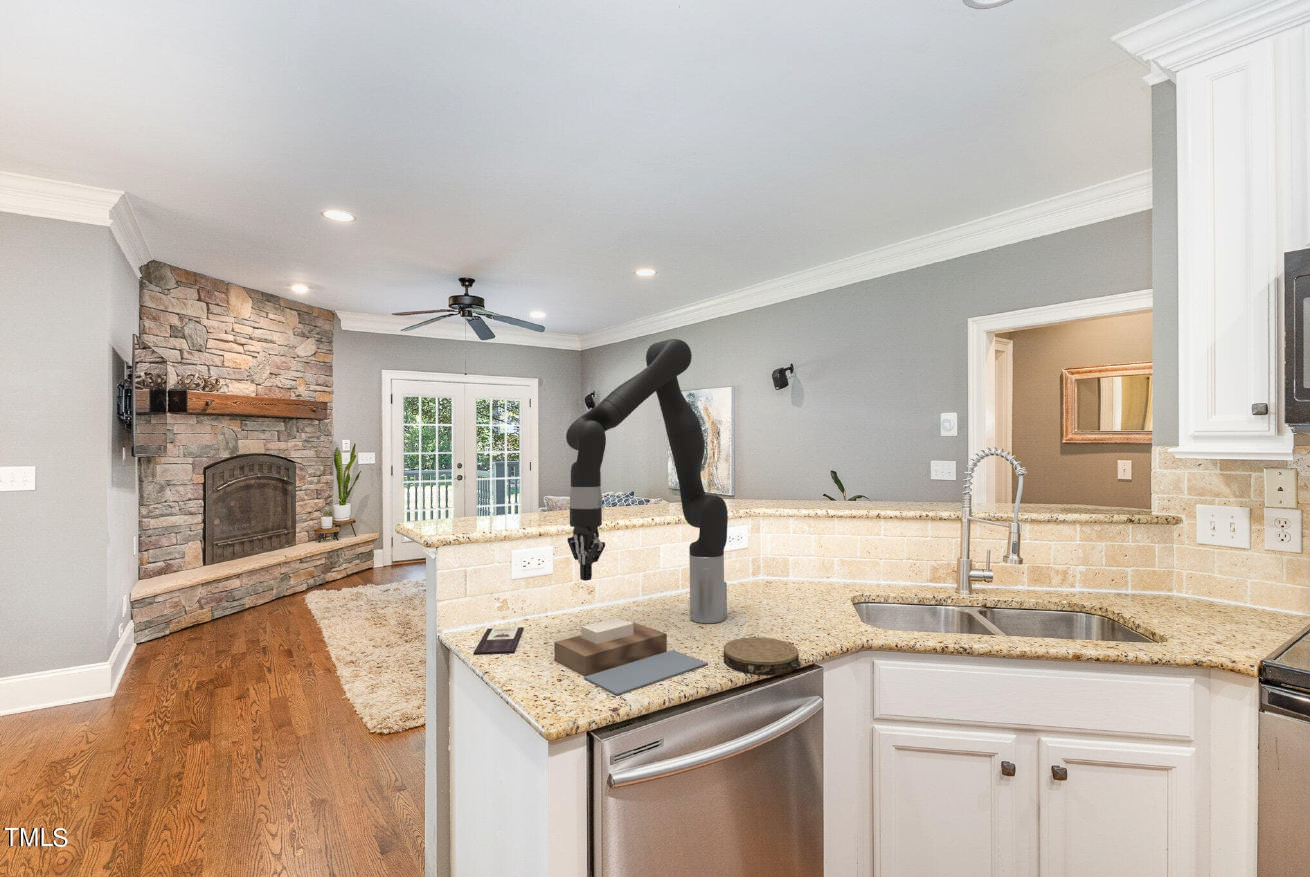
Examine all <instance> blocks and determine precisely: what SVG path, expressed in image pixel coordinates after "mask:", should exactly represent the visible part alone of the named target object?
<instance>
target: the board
mask: <svg viewBox="0 0 1310 877" xmlns="http://www.w3.org/2000/svg"><path fill="white" fill-rule="evenodd" d="M632 623H633V635H630V636H627V637H623V638H619V639H615V640H612V641H608V642H604V643H600V644H595V643H592V642H590V641H588V640H585V639H583V638H581V635H577V636H573V637H568V638H565V639H561V640H557V641H554V642H553V645H554V647H553V648H554V651H553V652H554V654H553V656H554V657H553V658H554V659H553V660H554V661H555V662H557V663H559V664H561V665H563V666H565V667H567V668H569V669H570V670H573V671H574V672H576V673H578V674H581V675H583V677H585V676H588V675H592V674H595V673H598V672H602V671H605V670H608V669H612V668H615V667H618V666H621V665H625V664H628V663H631V662H635V661H638V660H641V659H645V658H648V657H651V656H655V655H658V654H661V653H665V652H668V641H667V640H668V636H667V633H665V632H662V631H659V630H657V629H655V628H652V627H649V626H646V625H642V624H640V623H637V622H632Z"/></svg>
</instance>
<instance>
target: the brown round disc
mask: <svg viewBox="0 0 1310 877" xmlns="http://www.w3.org/2000/svg"><path fill="white" fill-rule="evenodd" d="M799 653H800V652H799V649H798V648H797V646H795V645H794V644H792V643H790V642H787V641H784V640H781V639H777V638H776V639H775V638H769V637H755V636H753V637H749V636H748V637H742V638H741V637H740V638H736V639H733V640H730V641H728V642H726V643H725V644H724V645H723V663H724V664H725V666H726V667H728V668H730V669H732V670H733V671H736V672H740V673H741V674H742V673H743V674H745V675H746V674H748V675H755V676H767V677H768V676H769V677H770V676H780V675H784V674H787V673H792V672H793V671H794V670H796V669H797V668H798V667H799V666H800V664H799V660H800V659H799V655H800V654H799Z"/></svg>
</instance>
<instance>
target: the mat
mask: <svg viewBox="0 0 1310 877" xmlns="http://www.w3.org/2000/svg"><path fill="white" fill-rule="evenodd" d="M708 665H709V662H706V661H703V660H701V659H698V658H696V657H693V656H691V655H688V654H685V653H682V652H679V651H677V650H674V649H671V650H667V652H664V653H660V654H657V655H654V656H650V657H647V658H644V659H641V660H637V661H634V662H631V663H627V664H624V665H621V666H617V667H614V668H611V669H607V670H604V671H601V672H597V673H594V674H591V675H587V676H583V679H584V680H585V681H587V682H589V683H591V684H593V685H595V686H597V687H599V688H601V689H603V690H605V691H607V692H608V693H610V694H612V693H613V694H612V695H614V696H616V697H618V696H620V695H623V694H622V693H624V694H626V692H627V693H630V692H632V690H633V691H635V689H636V690H638V688H639V689H641V687H642V688H644V687H647V686H650V685H653V684H656V683H658V681H659V682H662V681H665V680H668V679H670V677H671V678H673V677H677V676H680V675H682V674H686V673H688V672H691V671H695V670H697V669H700V668H703V667H706V666H708ZM676 675H677V676H676ZM664 679H665V680H664ZM655 682H656V683H655ZM652 683H653V684H652ZM649 684H650V685H649ZM643 686H644V687H643ZM629 691H630V692H629Z"/></svg>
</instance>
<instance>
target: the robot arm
mask: <svg viewBox="0 0 1310 877" xmlns="http://www.w3.org/2000/svg"><path fill="white" fill-rule="evenodd" d="M692 357H693V354H692V350H691V348H690V346H689V345H688V343H687V342H685V341H684V340H682V339H679V338H672V339H671V338H670V339H666V340H661V341H658V342H655V343H653V344H651V345H650V346H649V347H648V348H647V351H646V354H645V362H646V367H645V368H644V369H642V370H641V371H640V372H639V373H636V374H635V375H634V376H633V377H631V378H630V379H628V380H626V381H624V382H623V383H622V384H620V385H619V386H618V387H616V388H614V390H612V391H611V392H610V393H609V394H608V395H607V396H605V397H604V398H603V399H602V401H600V402H599V403H598V404H597V405H596V406H594V407H593V408H591V409H590V410H589V411H587V412H586V413H584V414H583V415H580V417H578V418H577V419H576V420H575V421H573V422H572V423H571V424H570V425H569V427H568V429H567V430H566V434H565V439H566V443H567V445H568V446H569V447H570V448H571V449H573V450H575V451H577V455H576V456H577V458H576V461H575V462H573V463H572V464H571V468H570V491H569V492H570V493H569V526H570V527H572V528H573V530H572V531H573V532H572V536H570V537H567V539H566V541H567V544H568V546H569V548H570V551H571V554H572V557H573V559H574V560H575V561H578V562H577V563H578V564H579V576H580V578H579V579H580V580H582V581H590V580H592V578H593V577H592V576H593V574H592V573H593V568H592V567H593V566H592V565H593V564H594V563H597V562H598V561H599V559H600V557H601V556H602V553H603V551H604V549H605V547H606V542H605V541H601V540H600V539H599V538H600V534H599V529H598V528H599V527H600V526H602V524H603V501H602V500H603V498H602V497H603V496H602V488H601V487H602V486H601V485H602V483H601V482H602V481H601V478H602V477H601V476H602V474H601V468H602V465H603V464H602V463H603V461H604V460H603V459H604V456H605V450H606V444H607V443H606V442H607V436H606V431H609V430H612V429H615V428H616V427H618V426H619V425H620V424H622V423H623V421H624V420H625V419H627V418H628V417H629V416H630V415H631V414H632V413H633V412H634V411H635V410H636V409H637V408H639V406H641V404H642V403H644V402H645V401H647V399H648V398H650V397H651V396H652V395H653V394H654V393H656V395H657V399H658V403H659V407H660V411H661V415H662V418H663V421H664V422H663V423H664V428H665V431H666V436H667V440H668V445H669V447H670V451H671V455H672V459H673V463H674V467H675V473H676V477H677V482H678V487H679V493H680V494H679V495H680V502H681V510H682V513H683V517H684V519H685V521H686V522H687V524H688V525H690V526H691V527H693V528H697V529H699V531H698V532H699V535H698V539H697V540H695V541H693V542H691V543H690V544H689V548H688V549H689V551H688V552H689V554H688V555H689V556H688V557H689V558H688V560H689V619H690V621H692V622H696V623H699V624H717V623H720V622H723V621H725V619H727V618H728V593H727V592H728V587H727V586H728V585H727V584H728V583H727V582H726V581H725V548H726V545H727V540H728V522H729V521H728V519H729V518H728V507H727V504H726V503H727V502H725V500H724V499H723V498H722V497H721V496H719V495H714V494H706V492H705V488H704V486H703V481H702V476H701V474H702V472H701V470H702V465H703V462H704V461H703V460H704V455H705V449H706V447H705V446H706V444H705V436H704V434H703V429H702V426H701V425H702V424H701V422H700V419H699V418H698V415H697V413H696V412H695V411H694V409H693V408H692V406H691V405H690V404H689V403H688V402H689V401H687V399H686V398H685V396H684V395H683V392H682V391H681V387H680V385H679V384H680V383H679V380H678V376H679V375H681V374H683V373H684V372H685V371H687V370H688V368H690V365H691V362H692V359H693V358H692Z"/></svg>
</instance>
